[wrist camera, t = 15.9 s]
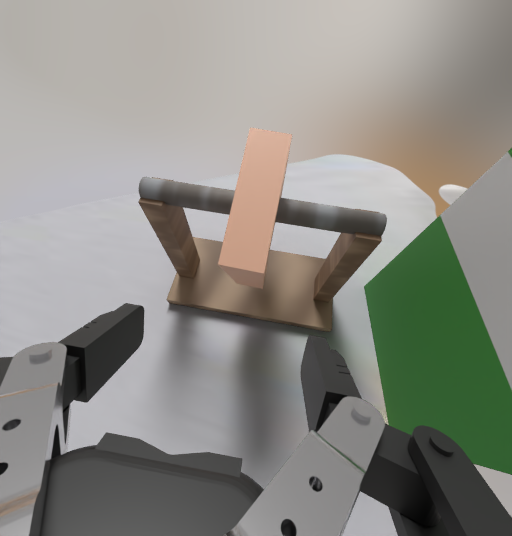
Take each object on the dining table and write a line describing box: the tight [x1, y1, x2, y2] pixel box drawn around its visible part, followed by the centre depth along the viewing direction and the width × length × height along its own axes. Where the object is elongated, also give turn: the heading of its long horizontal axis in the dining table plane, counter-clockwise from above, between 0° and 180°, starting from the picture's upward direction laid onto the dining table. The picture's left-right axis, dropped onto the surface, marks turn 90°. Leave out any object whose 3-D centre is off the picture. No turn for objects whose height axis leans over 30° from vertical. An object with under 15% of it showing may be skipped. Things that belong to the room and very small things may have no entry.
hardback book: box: [364, 148, 512, 475], centre depth 19 cm, size 18×7×24 cm, turn 177°
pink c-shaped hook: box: [218, 128, 292, 289], centre depth 22 cm, size 3×10×12 cm, turn 169°
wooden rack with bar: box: [139, 177, 387, 332], centre depth 26 cm, size 21×10×16 cm, turn 80°
